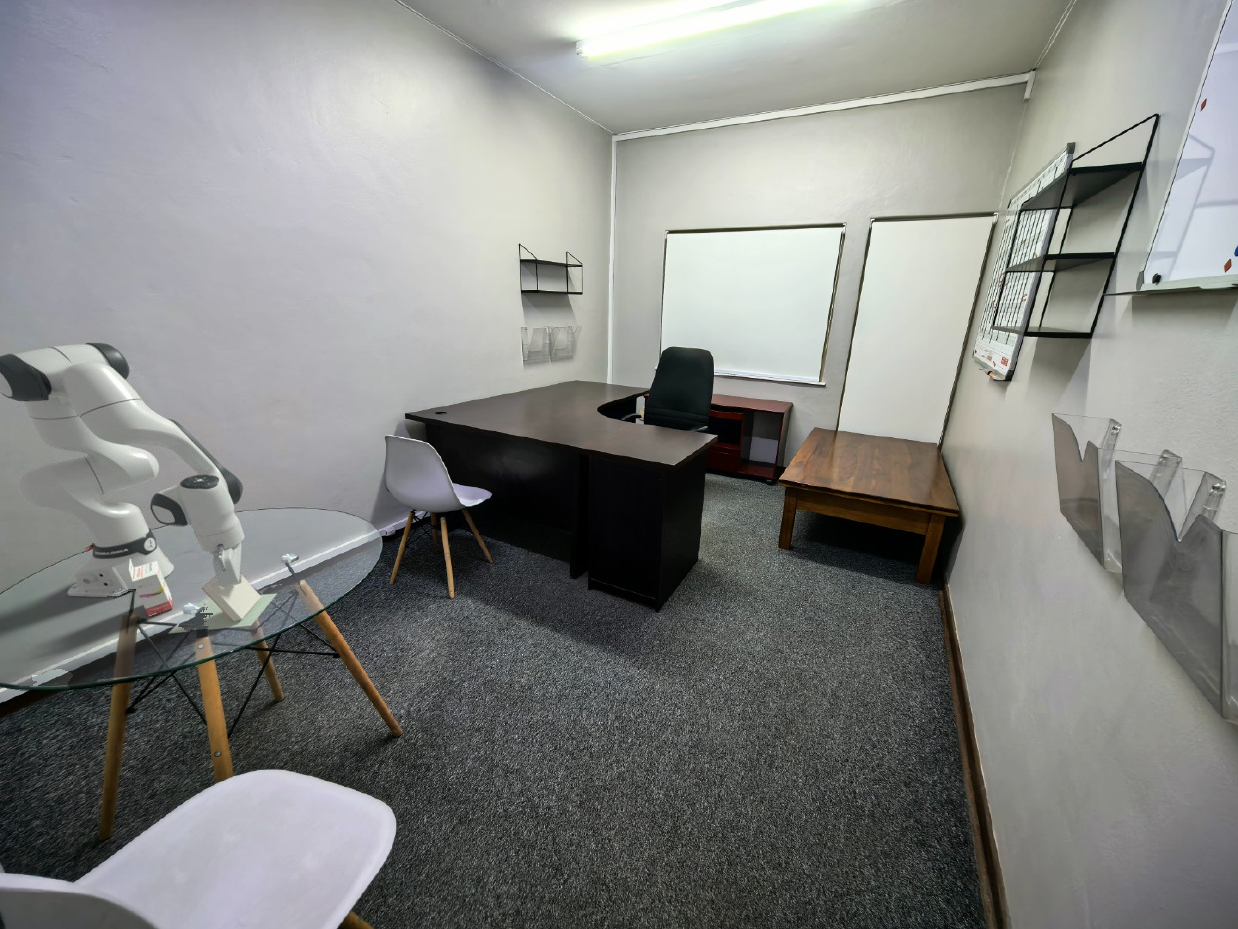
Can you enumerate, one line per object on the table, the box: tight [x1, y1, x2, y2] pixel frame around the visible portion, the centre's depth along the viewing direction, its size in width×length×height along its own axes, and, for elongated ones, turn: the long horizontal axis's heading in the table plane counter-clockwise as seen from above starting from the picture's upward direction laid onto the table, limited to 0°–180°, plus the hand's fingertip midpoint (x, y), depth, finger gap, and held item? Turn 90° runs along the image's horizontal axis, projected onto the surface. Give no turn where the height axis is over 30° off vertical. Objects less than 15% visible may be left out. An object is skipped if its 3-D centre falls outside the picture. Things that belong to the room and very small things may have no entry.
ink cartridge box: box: [129, 559, 173, 616], centre depth 122 cm, size 9×5×15 cm, turn 45°
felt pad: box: [168, 593, 278, 634], centre depth 122 cm, size 19×13×1 cm
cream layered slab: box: [201, 573, 261, 622], centre depth 121 cm, size 2×9×12 cm, turn 7°
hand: (237, 581), depth 120 cm, fingers closed
